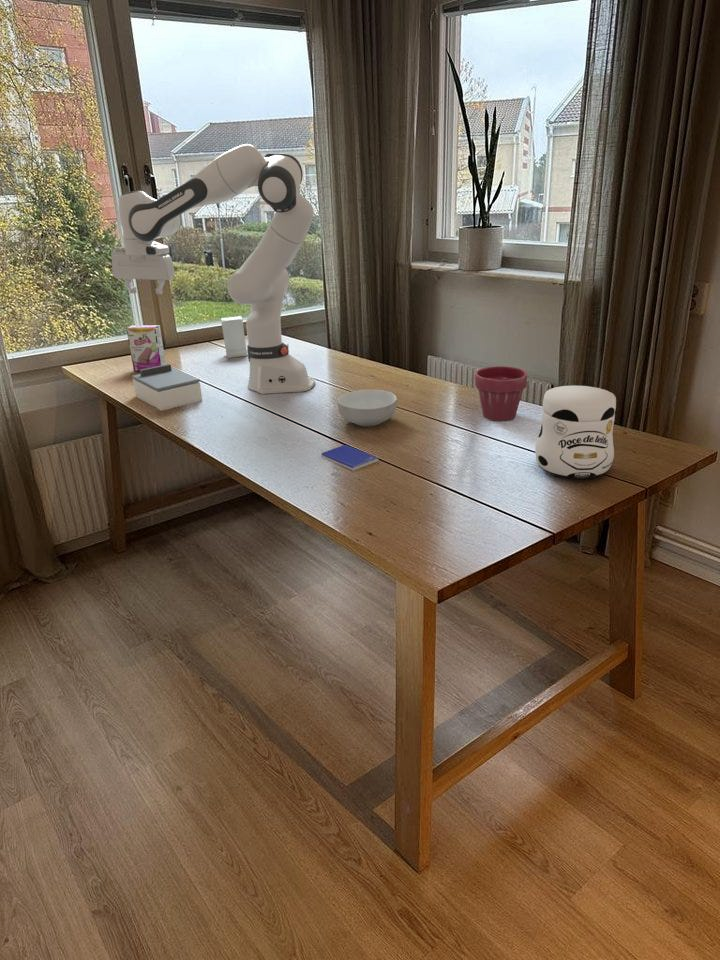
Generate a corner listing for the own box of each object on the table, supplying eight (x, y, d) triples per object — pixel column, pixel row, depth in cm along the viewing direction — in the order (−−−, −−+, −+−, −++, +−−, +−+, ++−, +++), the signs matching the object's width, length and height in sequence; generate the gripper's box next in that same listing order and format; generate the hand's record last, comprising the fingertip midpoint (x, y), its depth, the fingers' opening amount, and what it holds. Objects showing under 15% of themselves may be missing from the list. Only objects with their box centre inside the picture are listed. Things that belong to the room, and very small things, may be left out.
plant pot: (463, 416, 193) (464, 372, 187) (495, 404, 201) (497, 362, 195) (502, 428, 182) (505, 382, 177) (534, 416, 191) (538, 372, 185)
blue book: (378, 457, 165) (346, 444, 173) (353, 466, 160) (321, 452, 169) (378, 462, 165) (346, 449, 174) (353, 472, 161) (321, 458, 169)
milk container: (579, 492, 146) (588, 413, 138) (518, 467, 159) (523, 394, 151) (627, 471, 155) (638, 396, 147) (565, 449, 168) (572, 379, 160)
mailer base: (135, 396, 221) (132, 378, 219) (175, 387, 229) (172, 370, 226) (161, 410, 207) (157, 392, 204) (202, 400, 214) (199, 382, 212)
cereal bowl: (330, 417, 196) (329, 393, 193) (383, 408, 201) (383, 386, 198) (350, 436, 181) (349, 411, 178) (406, 426, 187) (406, 402, 184)
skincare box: (246, 352, 270) (242, 315, 264) (247, 356, 265) (243, 318, 258) (225, 354, 268) (220, 317, 262) (225, 358, 263) (221, 320, 257)
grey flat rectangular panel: (132, 378, 218) (130, 369, 217) (172, 369, 226) (171, 361, 225) (157, 391, 204) (156, 382, 203) (199, 381, 212) (198, 372, 211)
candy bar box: (133, 372, 249) (125, 328, 242) (138, 368, 254) (131, 325, 247) (162, 372, 248) (155, 327, 241) (167, 368, 252) (160, 324, 246)
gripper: (104, 248, 208) (112, 294, 214) (163, 249, 203) (169, 296, 209) (116, 246, 214) (123, 291, 219) (173, 247, 208) (179, 292, 214)
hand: (146, 293), depth 214 cm, fingers open, 8 cm apart
